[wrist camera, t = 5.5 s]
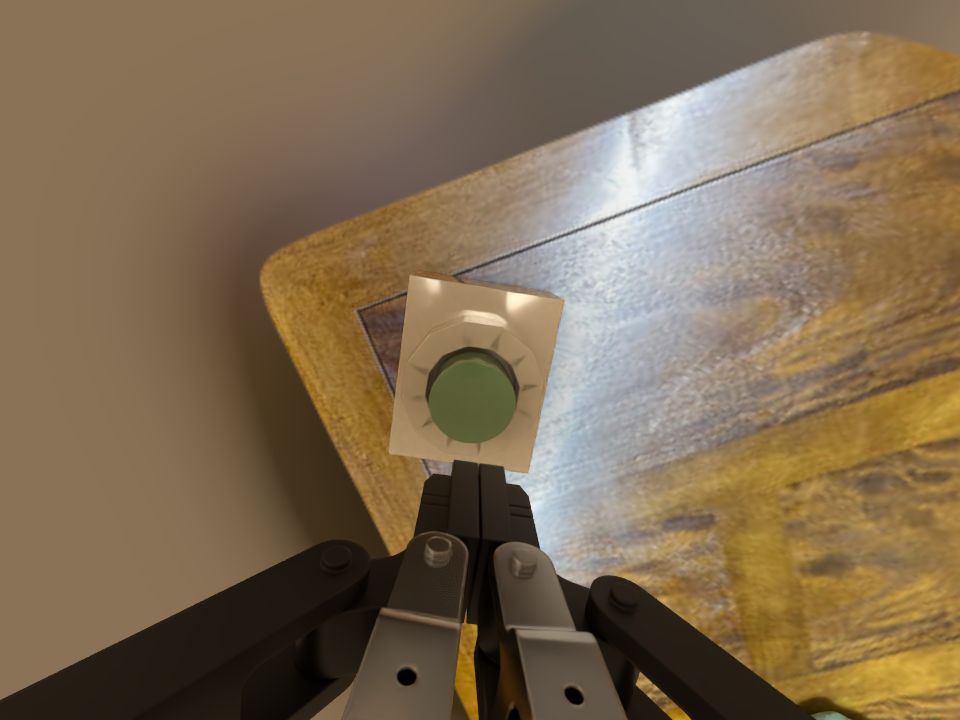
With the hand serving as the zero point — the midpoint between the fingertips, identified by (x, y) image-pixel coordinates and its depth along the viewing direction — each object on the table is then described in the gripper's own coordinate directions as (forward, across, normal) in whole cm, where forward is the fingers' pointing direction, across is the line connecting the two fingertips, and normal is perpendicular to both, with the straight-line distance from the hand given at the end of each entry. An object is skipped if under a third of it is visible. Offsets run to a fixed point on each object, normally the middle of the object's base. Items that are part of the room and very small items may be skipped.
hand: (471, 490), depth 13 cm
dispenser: (+15, 0, 0) cm, 15 cm away
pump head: (+9, 0, 0) cm, 9 cm away
